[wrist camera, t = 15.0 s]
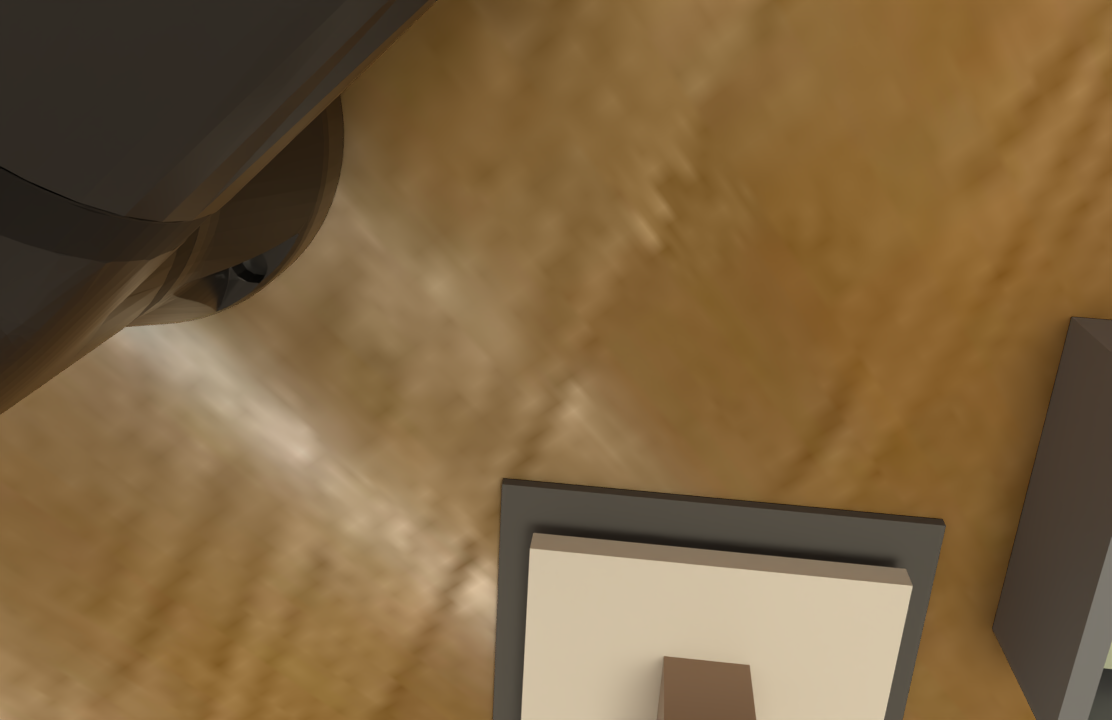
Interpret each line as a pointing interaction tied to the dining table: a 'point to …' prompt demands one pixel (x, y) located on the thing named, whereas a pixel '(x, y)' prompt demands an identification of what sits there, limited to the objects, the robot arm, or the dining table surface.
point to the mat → (702, 528)
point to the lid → (706, 634)
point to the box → (1066, 544)
